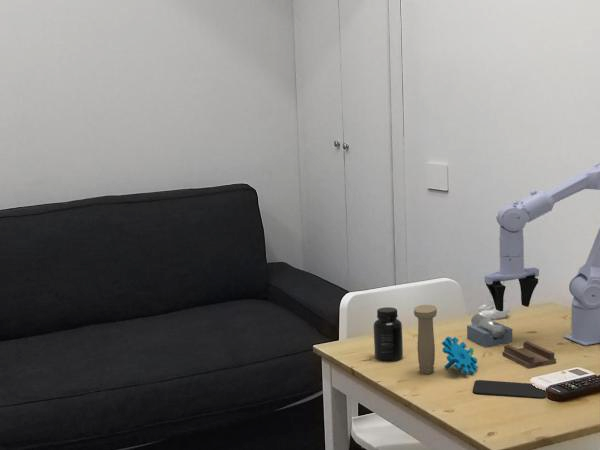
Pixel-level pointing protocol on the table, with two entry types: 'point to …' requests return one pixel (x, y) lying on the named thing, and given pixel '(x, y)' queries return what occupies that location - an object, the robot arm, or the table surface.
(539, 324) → the table surface
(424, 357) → the handle
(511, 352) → the brown channel tray
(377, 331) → the supplement bottle
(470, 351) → the gear
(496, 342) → the v block
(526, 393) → the phone
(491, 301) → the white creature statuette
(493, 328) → the axle
